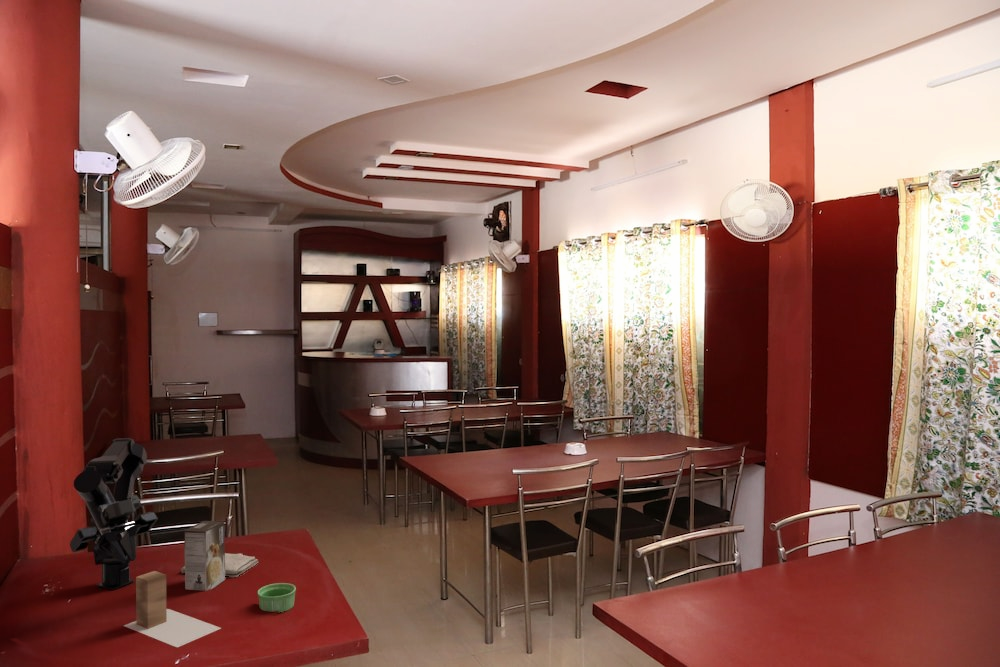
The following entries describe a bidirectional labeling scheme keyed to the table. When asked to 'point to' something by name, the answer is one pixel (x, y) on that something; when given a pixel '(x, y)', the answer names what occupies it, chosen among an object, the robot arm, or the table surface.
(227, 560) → the washcloth
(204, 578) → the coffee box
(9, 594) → the table surface
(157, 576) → the walnut block
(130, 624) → the mat
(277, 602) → the ramekin
